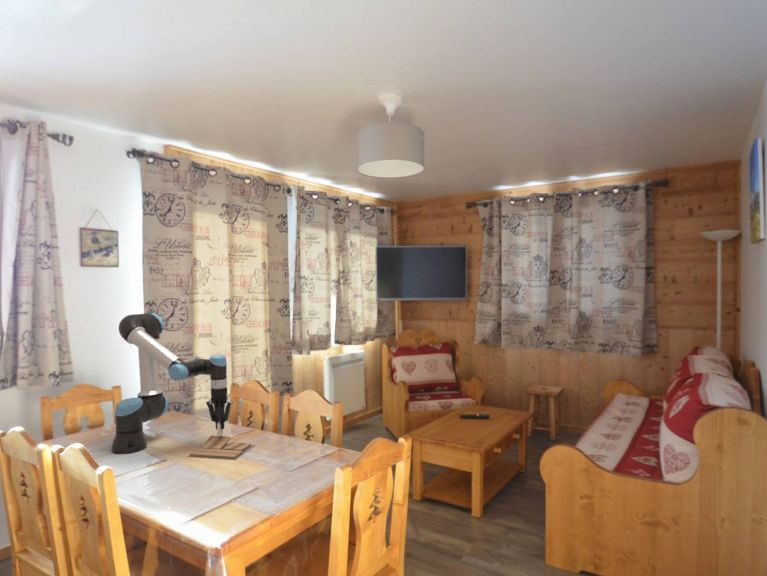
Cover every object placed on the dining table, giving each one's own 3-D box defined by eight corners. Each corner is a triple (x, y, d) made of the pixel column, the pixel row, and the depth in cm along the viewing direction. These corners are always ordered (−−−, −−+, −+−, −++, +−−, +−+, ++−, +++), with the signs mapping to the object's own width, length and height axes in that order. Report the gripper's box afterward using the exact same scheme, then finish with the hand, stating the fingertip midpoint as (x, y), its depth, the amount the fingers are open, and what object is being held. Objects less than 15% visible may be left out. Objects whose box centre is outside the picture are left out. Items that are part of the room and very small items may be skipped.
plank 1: (201, 449, 228) (201, 447, 228) (211, 437, 237) (211, 435, 236) (221, 451, 226) (220, 448, 226) (230, 438, 235) (229, 436, 234)
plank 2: (222, 451, 226) (222, 448, 226) (232, 444, 235) (231, 442, 235) (242, 452, 224) (242, 449, 224) (251, 445, 233) (251, 443, 233)
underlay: (186, 459, 219) (186, 453, 219) (210, 444, 239) (210, 439, 239) (235, 462, 215) (235, 457, 215) (256, 447, 234) (255, 442, 234)
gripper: (202, 388, 232) (203, 437, 232) (227, 389, 229) (228, 438, 230) (210, 385, 239) (212, 432, 240) (235, 385, 237) (236, 433, 237)
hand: (220, 435), depth 235 cm, fingers closed
